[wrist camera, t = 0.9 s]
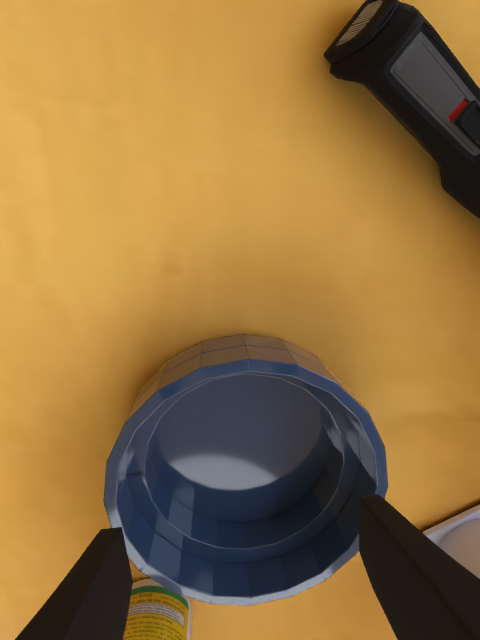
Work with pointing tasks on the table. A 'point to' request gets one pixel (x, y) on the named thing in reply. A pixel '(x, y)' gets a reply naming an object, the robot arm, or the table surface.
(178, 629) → the supplement bottle
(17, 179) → the table surface
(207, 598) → the bowl
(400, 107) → the electric trimmer
